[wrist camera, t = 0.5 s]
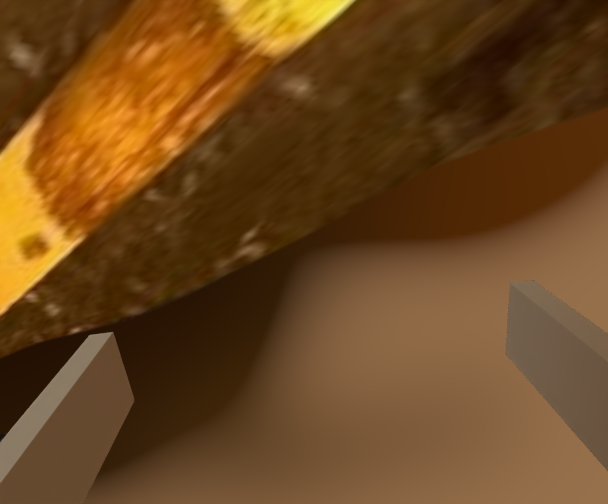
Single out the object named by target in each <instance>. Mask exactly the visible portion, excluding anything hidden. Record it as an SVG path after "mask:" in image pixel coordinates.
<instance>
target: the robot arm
mask: <svg viewBox="0 0 608 504" xmlns="http://www.w3.org/2000/svg"><path fill="white" fill-rule="evenodd" d="M506 355H507V356H508V357H509V359H510V360H511V361H512V362H513V363H514V364H515V365H516V367H517V368H518V369H519V370H520V371H521V372H522V373H523V375H524V376H525V377H526V378H527V379H528V380H529V381H530V383H531V384H532V385H533V386H534V387H535V388H536V389H537V391H538V392H539V393H540V394H541V395H542V396H543V397H544V398H545V400H546V401H547V402H548V403H549V404H550V405H551V407H552V408H553V409H554V410H555V411H556V412H557V413H558V414H559V416H560V417H561V418H562V419H563V420H564V421H565V423H566V424H567V425H568V426H569V427H570V428H571V429H572V431H573V432H574V433H575V434H576V435H577V436H578V437H579V439H580V440H581V441H582V442H583V443H584V444H585V445H586V446H587V448H588V449H589V450H590V451H591V452H592V453H593V455H594V456H595V457H596V458H597V459H598V460H599V461H600V463H601V464H602V465H603V466H604V467H605V468H606V469H607V470H608V334H607V333H606V332H604V331H603V330H602V329H600V328H599V327H598V326H596V325H595V324H594V323H592V322H591V321H589V320H588V319H587V318H585V317H584V316H582V315H581V314H580V313H578V312H577V311H575V310H574V309H573V308H571V307H570V306H568V305H567V304H566V303H564V302H563V301H562V300H560V299H559V298H557V297H556V296H555V295H553V294H552V293H550V292H549V291H548V290H546V289H545V288H543V287H542V286H541V285H539V284H538V283H536V282H535V281H533V280H531V281H522V282H514V283H510V291H509V306H508V323H507V339H506ZM133 402H134V397H133V394H132V391H131V388H130V384H129V381H128V378H127V375H126V372H125V369H124V365H123V363H122V359H121V356H120V353H119V350H118V347H117V343H116V340H115V337H114V334H113V332H111V333H103V334H95V335H89V337H88V338H87V339H86V340H85V342H84V343H83V344H82V345H81V346H80V347H79V349H78V350H77V351H76V352H75V353H74V355H73V356H72V357H71V358H70V359H69V361H68V362H67V363H66V364H65V366H64V367H63V368H62V369H61V370H60V371H59V373H58V374H57V375H56V376H55V377H54V379H53V380H52V381H51V382H50V383H49V385H48V386H47V387H46V388H45V389H44V390H43V392H42V393H41V394H40V395H39V397H38V398H37V399H36V400H35V401H34V402H33V404H32V405H31V406H30V407H29V408H28V410H27V411H26V412H25V413H24V414H23V416H22V417H21V418H20V419H19V421H18V422H17V423H16V424H15V425H14V426H13V428H12V429H11V430H10V431H9V432H8V434H1V435H0V504H82V503H83V501H84V499H85V497H86V495H87V493H88V492H89V490H90V488H91V486H92V484H93V482H94V480H95V478H96V476H97V474H98V472H99V470H100V467H101V466H102V464H103V462H104V459H105V458H106V456H107V454H108V452H109V450H110V448H111V446H112V444H113V442H114V440H115V438H116V436H117V434H118V432H119V430H120V428H121V426H122V424H123V422H124V420H125V418H126V416H127V414H128V412H129V410H130V408H131V406H132V404H133Z"/></svg>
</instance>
